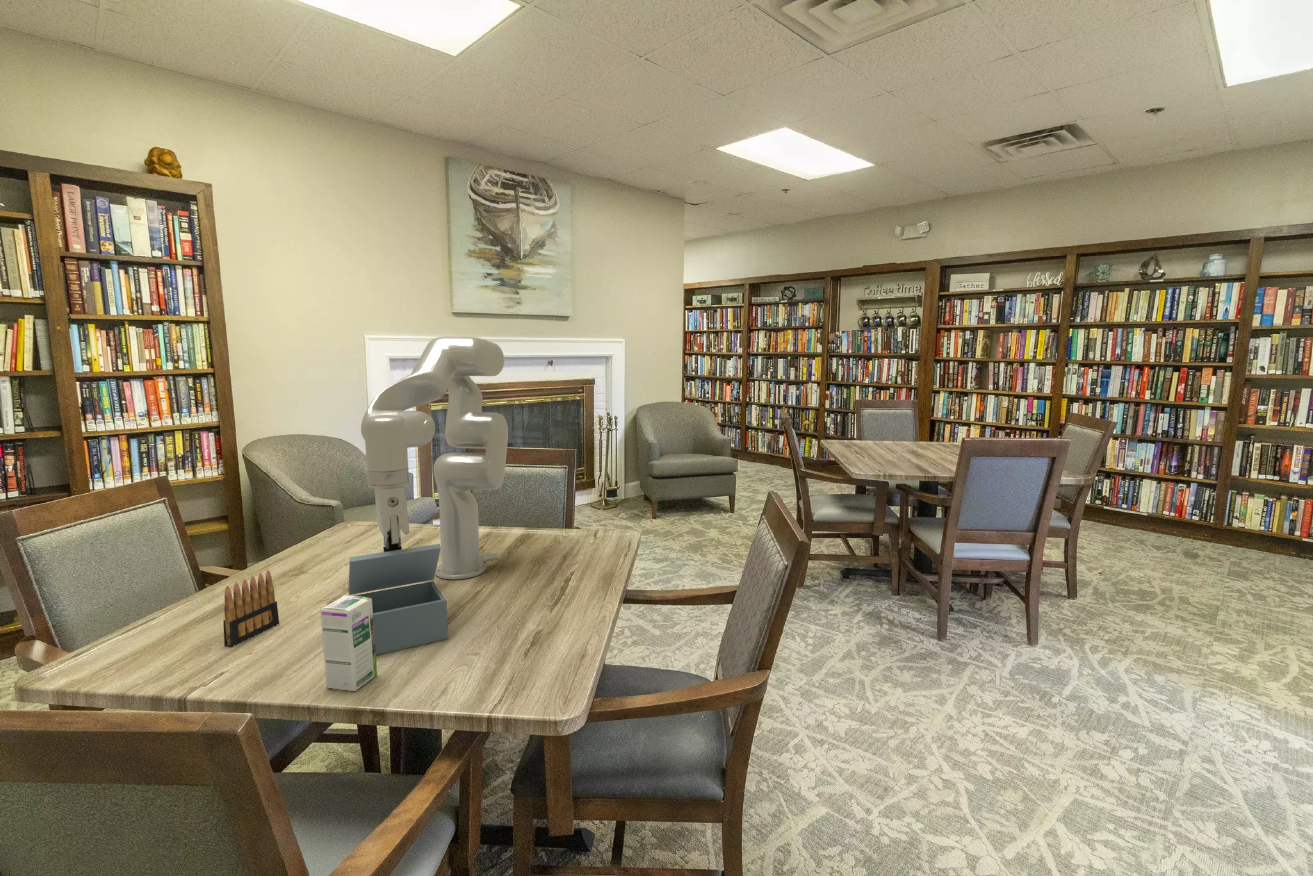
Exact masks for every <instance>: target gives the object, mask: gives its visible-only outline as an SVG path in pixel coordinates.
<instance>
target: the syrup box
mask: <svg viewBox="0 0 1313 876" xmlns="http://www.w3.org/2000/svg"><path fill="white" fill-rule="evenodd" d="M319 613H320V625H321V626H320V627H321V637H322V648H323V649H322V650H323V657H324V658H323V660H324V673H325V674H324V675H325V684H326V685H325V686H326V688H327V689H330V688H334V689H333V690H335V689H340V690H339V691H341V690H349V691H348V692H350V691H356V690H357V691H358V690H359V689H360V688H361V687H363V686H364V685H365V684H367V683H368V682H370V681H371V680H372V679H373V678H375V677H376V676H377V675H378V671H377V670H378V667H377V666H378V665H377V655H376V652H375V637H374V623H373V609H372V599H371V598H368V597H362V596H354V595H343V596H342V597H341V598H339V599H337V600H335V601H334V602H331V603H329V604H327V605H325V606H323V607H321V608H320V610H319ZM357 691H356V692H357Z"/></svg>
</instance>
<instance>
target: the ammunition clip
mask: <svg viewBox="0 0 1313 876" xmlns="http://www.w3.org/2000/svg"><path fill="white" fill-rule="evenodd" d="M239 585H240V584H239V583H238V582H237V581H236V582H234V585H233V588H232V589H233V593H232V590H231V588H230V585H226V586H225V589H224V606H223V611H224V620H223V643H224V644H223V646H224V647H229V648H233V646H234V645H236V646H237V644H238V645H239V643H240V644H242V643H244V642H246V641H248V640H249V639H248V638H250V639H252V638H254V637H256V636H258V635H260V634H262V633H264V632H266V631H268V630H270V629H272V628H274V627H273V626H275V627H277V626H278V625H277V624H279V625H280V619H279V610H278V609H279V608H278V602H277V601H276V598H275V597H276V596H275V589H274V584H273V577H272V573H271V572H270V570H269V569H268V570H266V572H265V578H264V575H263V574H262V572H260V573H259V574H258V577H257V581H256V578H255V577H254V575H252V576H251V578H250V582H249V583H248V581H247V580H246V578H244V579H243V581H242V583H241V588H240V586H239ZM276 625H277V626H276ZM263 631H264V632H263ZM259 633H260V634H259ZM255 635H256V636H255ZM251 637H252V638H251ZM247 639H248V640H247ZM245 640H246V641H245ZM243 641H244V642H243ZM241 642H242V643H241ZM234 647H235V646H234Z"/></svg>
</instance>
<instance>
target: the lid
mask: <svg viewBox="0 0 1313 876" xmlns="http://www.w3.org/2000/svg"><path fill="white" fill-rule="evenodd" d="M440 555H441V543H437V544H430V545H423V546H416V547H409V548H403V549H402V550H395V551H388V552H384V551H382V552H376V553H370V554H362V555H357V556H350V557H349V563H348V565H349V566H348V570H349V571H348V586H347V587H348V588H347V589H348V590H347V591H348V596H354V595H359V594H365V593H370V592H376V591H381V590H387V589H392V588H398V587H403V586H409V585H415V584H420V583H426V582H431V581H433V580H435V576H436V573H435V572H436V568H437V567H438V563H439V558H440Z"/></svg>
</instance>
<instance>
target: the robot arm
mask: <svg viewBox="0 0 1313 876" xmlns="http://www.w3.org/2000/svg"><path fill="white" fill-rule="evenodd" d="M504 367H505V355H504V352H503V350H502V348H501V347H500V346H499V344H497V343H495V342H492V341H490V340H486V339H484V338H480V337H476V336H438V337H434V338H433V339H431V340H430V341H429V342H428V343H427V345H426V346H425V348H424V349H423V352H422V353H421V355H420V357H419V359H418V360H417V363H416V364H415V366H414V367H413V369H412V370H411V373H410V374H408V375H406V376H404V377H402V378H400V379H399V380H397V381H395V382H394V383H392V384H390V385H389V386H387V387H385V388H384V389H382V390H381V391H379V392H378V393H377V394H376V396H374V398H373V400H372V401H371V403H370V404H369V406H368V407H367V409H366V410H365V412H364V415H363V417H362V420H361V425H360V432H361V436H362V439H363V440H364V442H365V443H364V445H365V457H366V458H365V459H366V462H365V463H366V472H367V473H366V475H367V486H368V488H371V489H374V498H375V512H376V519H377V526H378V529H379V531H380V533H381V535H382V538H383V545H384V546H383V552H388V551H395V550H402V548H403V546H402V539H401V536H402V535H401V532H402V533H403V534H405V535H408V534H410V523H409V514H408V512H409V511H408V501H407V493H406V488H405V486H408V485H409V484H410V474H409V473H410V472H409V454H408V449H409V448H416V447H417V448H418V447H423V446H425V445H427V444H429V443H430V442H431V441H432V439H433V438H434V436H435V434H436V424H435V422H434V419H433V418H432V416H431V415H429V414H428V413H426V412H424V411H419V410H410V409H411V408H416V407H419V406H420V407H421V406H423V405H427V404H430V403H432V402H435V401H438V400H439V399H441V398H443V397H444V396H445V395H446V393H447V391H448V402H447V403H448V404H447V412H446V420H445V427H444V429H445V430H444V438H445V441H446V443H447V444H448V446H450V447H452V448H458V449H482V450H483V449H485V452H458V451H457V452H456V451H454V452H447V453H443V454H441V455H439V457H437V459H436V460H435V462H434V464H433V465H434V466H433V477H434V481H435V484H436V488H437V494H438V495H437V496H438V503H439V504H438V507H439V533H440V546H441V549H440V555H441V556H440V557H441V559H440V560H441V564H440V565H437V568H436V572H435V576H437V577H438V578H440V579H445V580H464V579H469V578H474V577H477V576H479V575H481V574H483V573H484V572H486V570H487V566H486V564H487V562H493V561H494V562H495V561H498V559H499V558H498V557H499V555H498V552H494V553H491V552H490V551H487V552H483V553H482V552H481V550H480V535H479V533H480V532H479V529H480V527H479V505H478V501H477V500H476V497H475V496H474V494H473V493H472V492H471V491H495V490H498V489H500V487H501V486H502V485H503V482H504V479H505V474H506V472H505V471H506V463H507V462H506V461H507V454H508V444H509V443H508V441H509V428H508V427H509V426H508V422H507V419H506V417H505V416H504V415H502V414H500V413H498V412H492V411H490V412H485V411H482V409H483V394H482V391H481V389H480V388H479V386H478V385H477V383H476V382H475V381H474V380H473V378H472V377H496V376H498V375H500V373H502V371H503V370H504V369H503V368H504Z"/></svg>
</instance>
